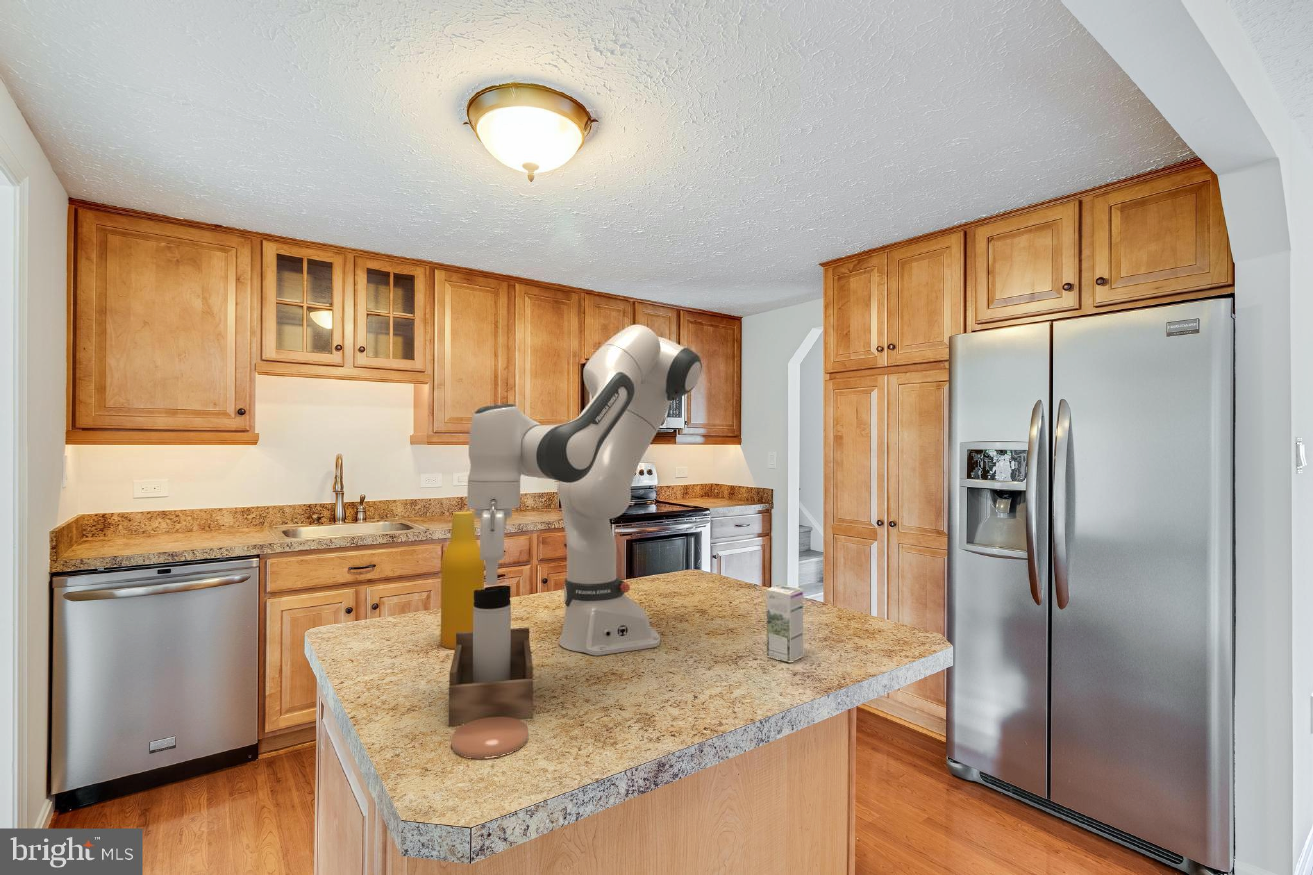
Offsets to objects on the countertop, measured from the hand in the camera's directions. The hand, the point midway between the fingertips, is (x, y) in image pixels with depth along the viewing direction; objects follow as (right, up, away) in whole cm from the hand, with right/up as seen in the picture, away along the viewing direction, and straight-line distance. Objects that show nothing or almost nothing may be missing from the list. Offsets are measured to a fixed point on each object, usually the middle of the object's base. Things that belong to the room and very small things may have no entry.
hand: (491, 577), depth 107 cm
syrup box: (+55, -22, +23) cm, 64 cm away
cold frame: (0, -21, 0) cm, 21 cm away
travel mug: (0, -22, 0) cm, 22 cm away
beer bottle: (-15, -22, +31) cm, 41 cm away
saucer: (+4, -21, -14) cm, 26 cm away
